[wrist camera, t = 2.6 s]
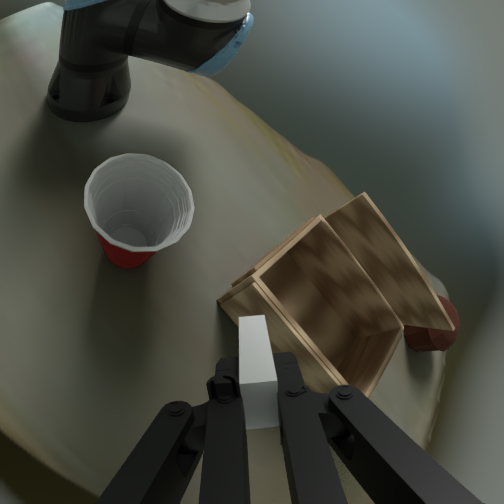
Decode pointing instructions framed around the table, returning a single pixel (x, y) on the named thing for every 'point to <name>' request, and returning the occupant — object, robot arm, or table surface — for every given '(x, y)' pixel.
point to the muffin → (433, 332)
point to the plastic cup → (137, 207)
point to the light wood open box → (319, 309)
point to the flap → (388, 264)
